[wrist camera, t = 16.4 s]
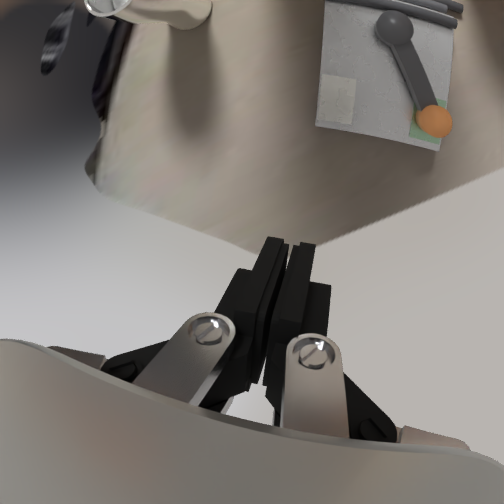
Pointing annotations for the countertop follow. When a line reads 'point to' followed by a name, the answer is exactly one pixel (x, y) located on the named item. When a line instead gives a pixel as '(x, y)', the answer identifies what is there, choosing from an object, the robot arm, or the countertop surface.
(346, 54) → the panel
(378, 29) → the breaker lever
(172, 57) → the countertop surface
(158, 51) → the countertop surface
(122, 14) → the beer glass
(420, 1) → the cord bundle
